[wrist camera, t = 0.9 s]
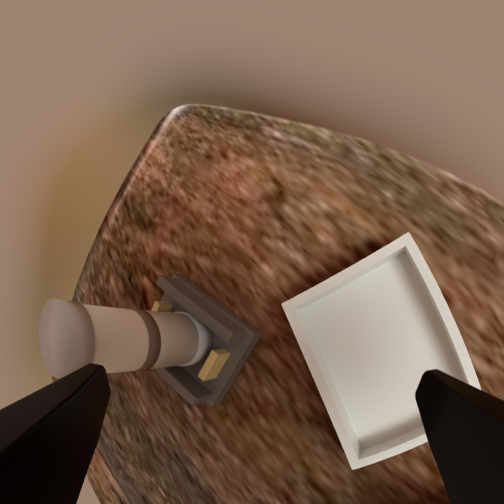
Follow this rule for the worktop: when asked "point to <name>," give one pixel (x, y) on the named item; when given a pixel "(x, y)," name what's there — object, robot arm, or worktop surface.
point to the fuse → (118, 338)
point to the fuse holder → (223, 342)
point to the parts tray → (378, 348)
